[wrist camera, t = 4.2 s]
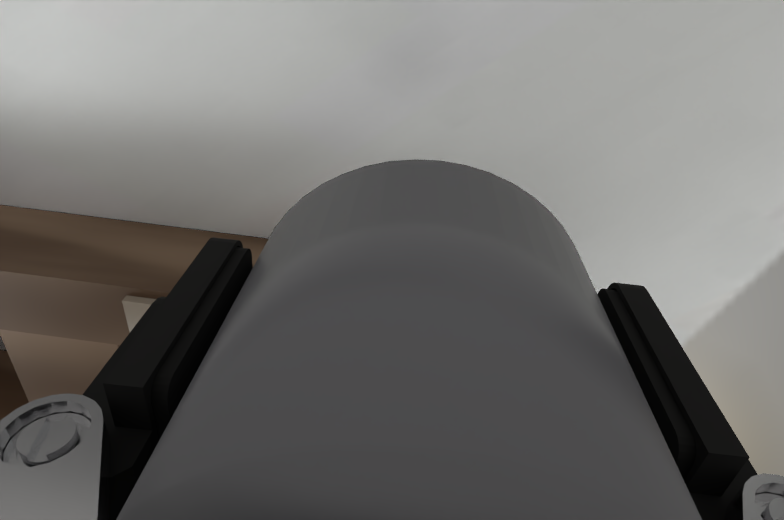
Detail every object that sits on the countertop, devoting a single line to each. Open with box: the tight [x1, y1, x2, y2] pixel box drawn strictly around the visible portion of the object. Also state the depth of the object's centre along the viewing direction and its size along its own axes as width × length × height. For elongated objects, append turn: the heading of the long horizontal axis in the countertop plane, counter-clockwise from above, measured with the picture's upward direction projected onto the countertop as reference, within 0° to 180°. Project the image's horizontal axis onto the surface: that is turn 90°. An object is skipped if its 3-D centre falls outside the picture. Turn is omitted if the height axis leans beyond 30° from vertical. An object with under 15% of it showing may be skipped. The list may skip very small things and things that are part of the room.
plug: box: [116, 160, 702, 520], centre depth 10 cm, size 7×7×10 cm
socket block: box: [0, 205, 268, 421], centre depth 22 cm, size 11×20×4 cm, turn 85°
